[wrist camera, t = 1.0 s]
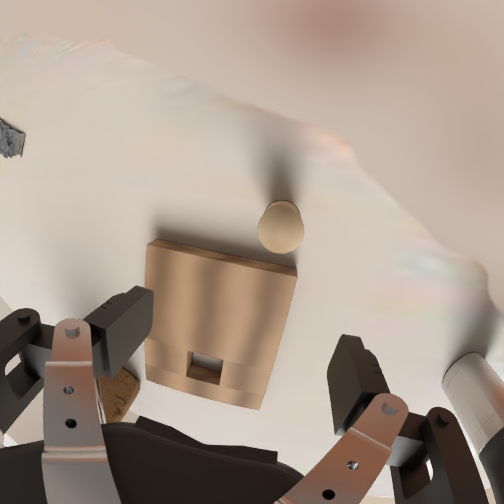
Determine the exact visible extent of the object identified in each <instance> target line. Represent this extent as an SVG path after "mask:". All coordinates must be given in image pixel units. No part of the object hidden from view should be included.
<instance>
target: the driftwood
mask: <svg viewBox="0 0 504 504" xmlns="http://www.w3.org/2000/svg"><path fill="white" fill-rule="evenodd" d="M9 128H10V126H6V125H4V124H3V123H2V121H1V120H0V154H3V156H4V157H5V158H8V156H9V157H11V158H12V157H13V155H14V156H16V155H18V154H20V155H21V152H22V147H23V142H24V140H25V133H23V134H20V133H18V132H17V131H15V130H11V129H9ZM21 157H22V155H21Z"/></svg>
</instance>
